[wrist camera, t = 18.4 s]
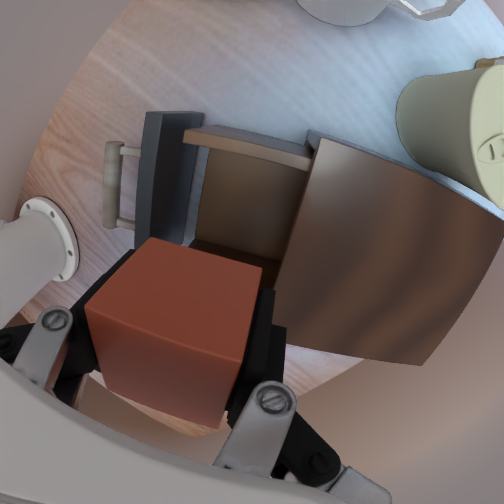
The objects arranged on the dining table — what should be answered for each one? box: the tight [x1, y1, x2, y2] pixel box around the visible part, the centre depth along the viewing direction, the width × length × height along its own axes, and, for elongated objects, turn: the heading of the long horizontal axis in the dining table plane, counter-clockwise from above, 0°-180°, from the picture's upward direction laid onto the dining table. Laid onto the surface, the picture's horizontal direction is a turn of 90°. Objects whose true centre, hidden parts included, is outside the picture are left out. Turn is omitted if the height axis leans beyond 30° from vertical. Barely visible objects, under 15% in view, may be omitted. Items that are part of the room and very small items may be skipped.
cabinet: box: [272, 129, 504, 366], centre depth 20 cm, size 15×14×10 cm
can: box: [396, 64, 504, 211], centre depth 13 cm, size 9×9×12 cm
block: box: [84, 237, 262, 429], centre depth 9 cm, size 4×4×4 cm
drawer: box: [103, 111, 315, 290], centre depth 20 cm, size 18×13×8 cm
